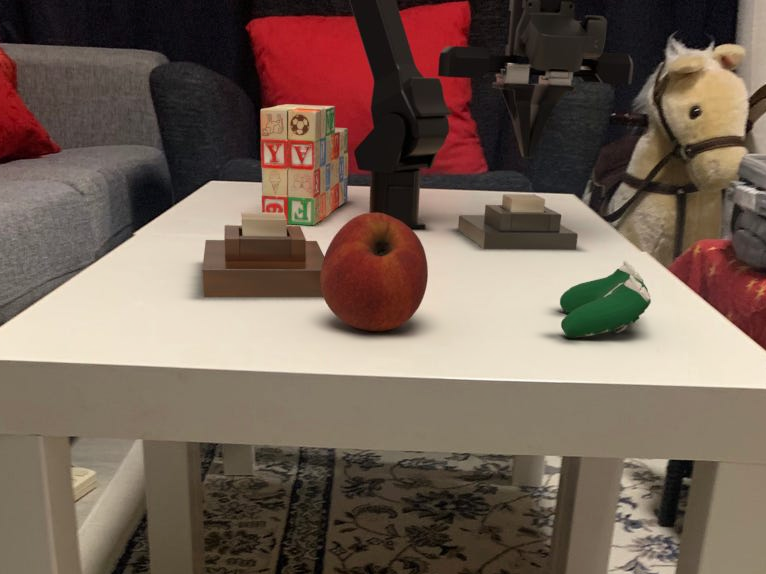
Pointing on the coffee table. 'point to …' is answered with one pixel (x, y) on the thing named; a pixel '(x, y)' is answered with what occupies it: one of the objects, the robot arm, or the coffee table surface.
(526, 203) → the key
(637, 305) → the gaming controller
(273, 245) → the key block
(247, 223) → the key
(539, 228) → the grey stepped pedestal
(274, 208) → the stack of blocks
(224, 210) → the coffee table surface
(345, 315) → the apple
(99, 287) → the coffee table surface
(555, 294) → the coffee table surface
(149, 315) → the coffee table surface
